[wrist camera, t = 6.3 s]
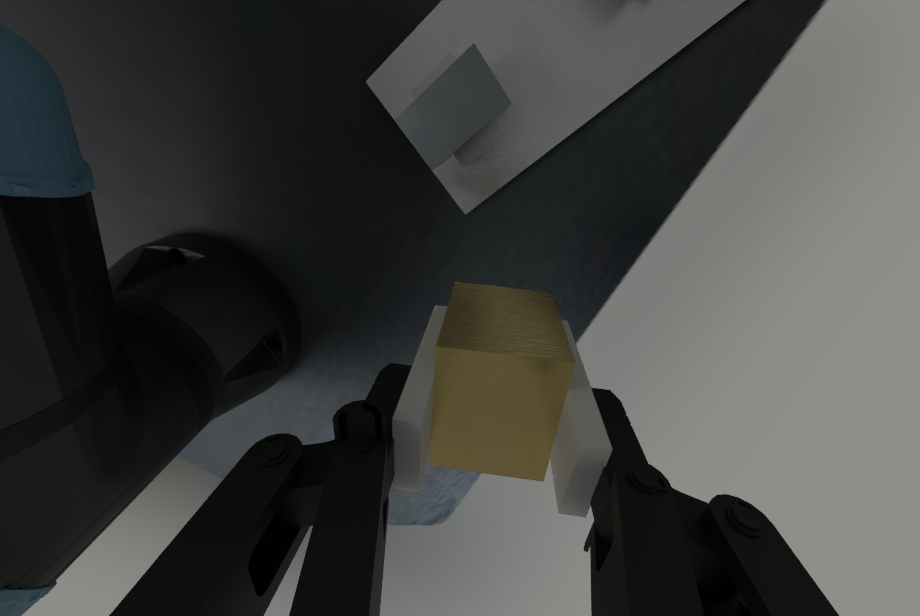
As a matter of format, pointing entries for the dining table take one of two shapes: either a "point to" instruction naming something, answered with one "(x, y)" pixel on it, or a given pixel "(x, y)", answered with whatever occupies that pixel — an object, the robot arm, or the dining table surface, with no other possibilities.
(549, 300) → the gold cube-like block
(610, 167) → the dining table surface
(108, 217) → the dining table surface
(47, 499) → the robot arm
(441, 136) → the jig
